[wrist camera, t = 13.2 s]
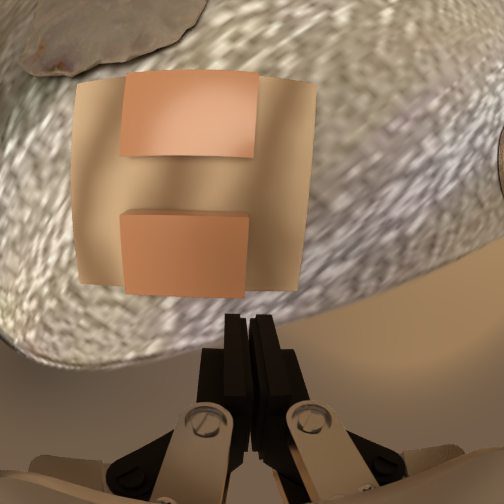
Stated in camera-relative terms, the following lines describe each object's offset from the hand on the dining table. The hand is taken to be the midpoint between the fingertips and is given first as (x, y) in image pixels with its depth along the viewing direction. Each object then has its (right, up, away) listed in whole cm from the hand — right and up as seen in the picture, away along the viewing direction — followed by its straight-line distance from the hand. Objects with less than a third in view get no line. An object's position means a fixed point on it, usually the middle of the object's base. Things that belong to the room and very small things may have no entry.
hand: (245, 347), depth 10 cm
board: (-5, +9, +11) cm, 15 cm away
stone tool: (-13, +29, +4) cm, 33 cm away
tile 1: (0, +13, +8) cm, 15 cm away
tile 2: (0, +3, +11) cm, 11 cm away
